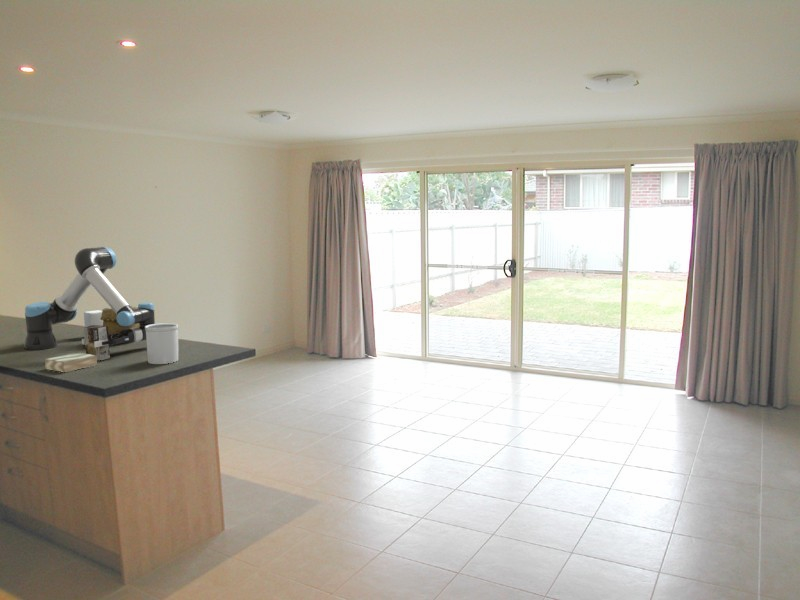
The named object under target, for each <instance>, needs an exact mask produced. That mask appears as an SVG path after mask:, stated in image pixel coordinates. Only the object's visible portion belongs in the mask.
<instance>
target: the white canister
mask: <svg viewBox="0 0 800 600" xmlns="http://www.w3.org/2000/svg"><path fill="white" fill-rule="evenodd" d="M101 316H102V310H99V309H96V310H89V311H83V321H84V327H88V326H92V325H101V326H103V320H101V319H100V318H101Z"/></svg>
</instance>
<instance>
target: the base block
mask: <svg viewBox="0 0 800 600" xmlns="http://www.w3.org/2000/svg"><path fill="white" fill-rule="evenodd" d="M95 365H97V366H98V360H97V356H95V355H91V354H86V352H85V353H84V352H78V351H77V352H72V353H66V354H63V355H58V356H54V357H49V358H45V359H44V366H45V367H44V368H45V370H46V369H50V370H56V371H61V372H67V371H72V370H77V369H81V368H85V369H87V368H86V367H89V368H91V367H90V366H94V367H96V366H95ZM50 370H49V371H50ZM81 370H82V369H81ZM77 371H78V370H77Z"/></svg>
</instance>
